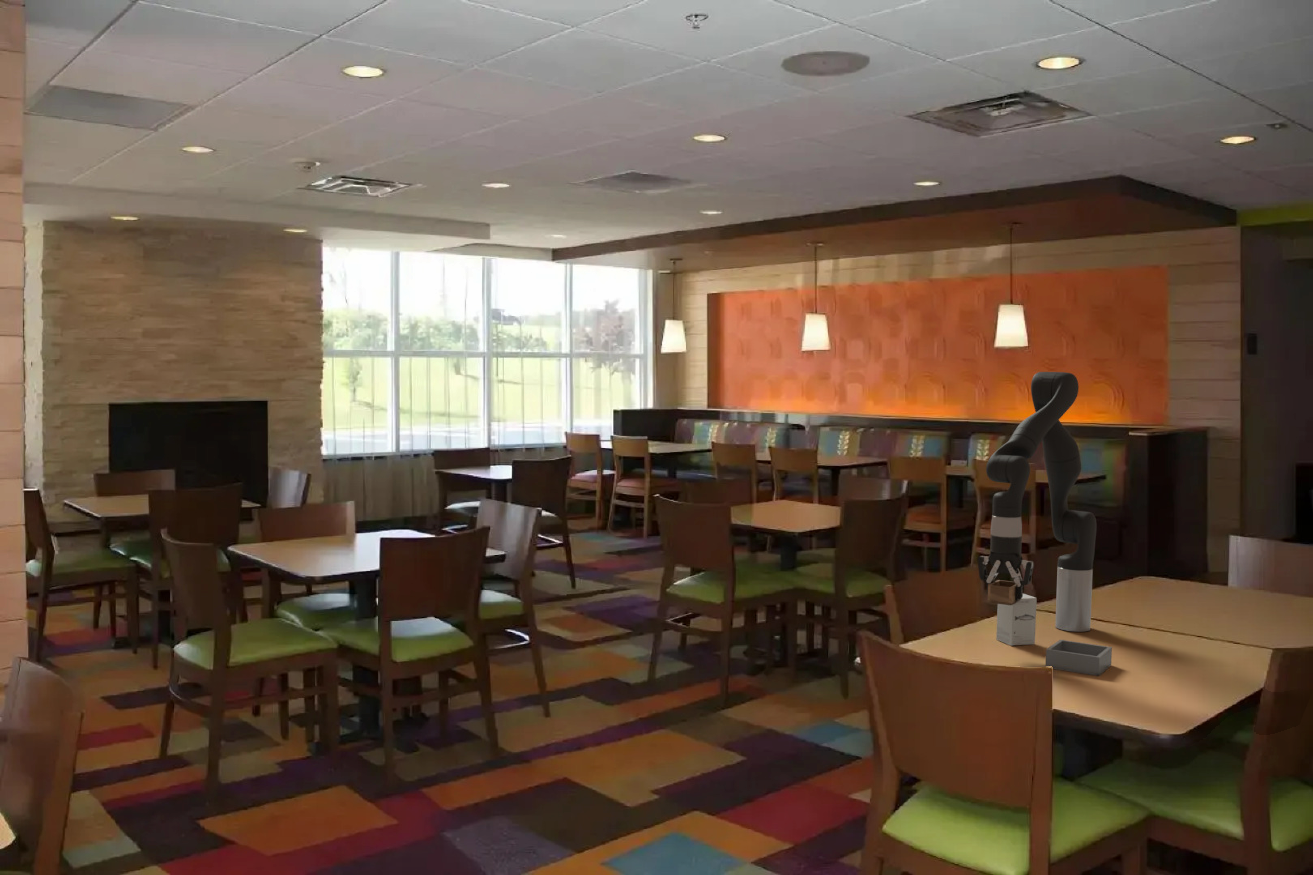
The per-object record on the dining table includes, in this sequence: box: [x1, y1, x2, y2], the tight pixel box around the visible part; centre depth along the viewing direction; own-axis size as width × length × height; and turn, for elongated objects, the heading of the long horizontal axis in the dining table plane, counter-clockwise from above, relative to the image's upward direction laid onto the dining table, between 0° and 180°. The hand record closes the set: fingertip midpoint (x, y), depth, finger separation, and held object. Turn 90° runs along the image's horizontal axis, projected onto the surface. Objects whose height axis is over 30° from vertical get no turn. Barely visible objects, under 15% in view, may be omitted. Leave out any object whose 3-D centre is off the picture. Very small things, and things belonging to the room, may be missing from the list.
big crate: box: [1044, 639, 1113, 677], centre depth 272 cm, size 12×12×4 cm
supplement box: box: [995, 593, 1038, 647], centre depth 296 cm, size 7×7×13 cm
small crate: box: [987, 579, 1021, 605], centre depth 283 cm, size 8×6×4 cm
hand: (1004, 598), depth 283 cm, fingers closed on small crate, 6 cm apart
